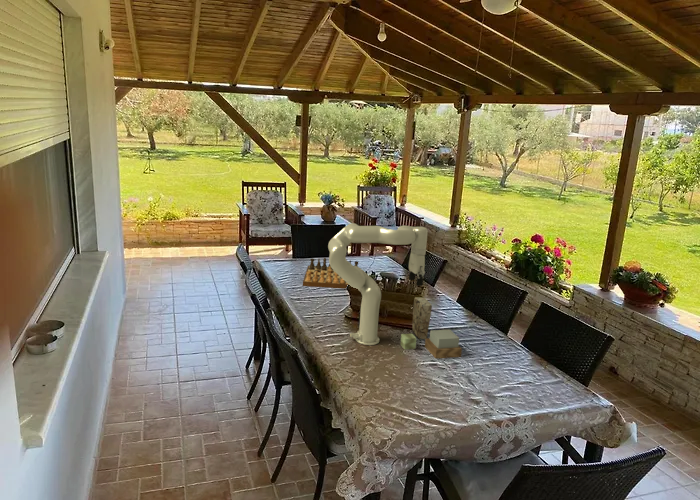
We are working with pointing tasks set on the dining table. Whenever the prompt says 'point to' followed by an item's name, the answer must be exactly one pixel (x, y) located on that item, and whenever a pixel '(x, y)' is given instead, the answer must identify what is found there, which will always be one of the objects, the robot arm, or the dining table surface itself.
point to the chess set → (323, 276)
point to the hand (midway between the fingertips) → (415, 282)
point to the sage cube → (408, 341)
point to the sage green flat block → (444, 339)
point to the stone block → (421, 317)
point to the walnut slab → (442, 350)
